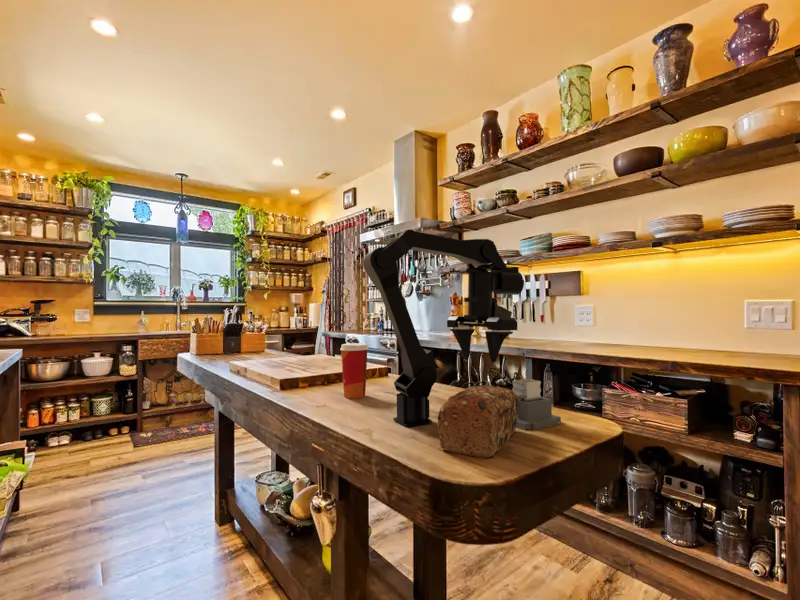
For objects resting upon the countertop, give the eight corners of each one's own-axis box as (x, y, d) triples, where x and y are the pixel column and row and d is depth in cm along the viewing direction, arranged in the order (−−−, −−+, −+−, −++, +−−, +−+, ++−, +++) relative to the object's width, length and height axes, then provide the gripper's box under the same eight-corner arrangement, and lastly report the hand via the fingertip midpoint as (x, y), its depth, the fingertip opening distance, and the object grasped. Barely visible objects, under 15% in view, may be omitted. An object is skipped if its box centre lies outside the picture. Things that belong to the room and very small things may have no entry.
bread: (494, 462, 65) (493, 400, 66) (434, 451, 71) (433, 394, 71) (520, 431, 82) (519, 382, 82) (470, 424, 87) (469, 378, 87)
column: (526, 423, 85) (525, 383, 86) (512, 419, 89) (511, 380, 89) (541, 420, 88) (541, 381, 88) (528, 416, 91) (527, 378, 91)
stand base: (528, 431, 81) (527, 403, 81) (491, 418, 90) (491, 393, 91) (564, 423, 86) (563, 397, 86) (526, 412, 96) (525, 388, 96)
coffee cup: (353, 392, 121) (353, 342, 121) (374, 395, 116) (374, 343, 117) (333, 397, 114) (333, 344, 115) (355, 401, 109) (354, 346, 110)
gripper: (535, 293, 91) (534, 362, 90) (479, 295, 107) (479, 354, 106) (498, 291, 85) (498, 365, 85) (446, 294, 101) (445, 356, 101)
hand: (479, 359), depth 94 cm, fingers open, 9 cm apart
